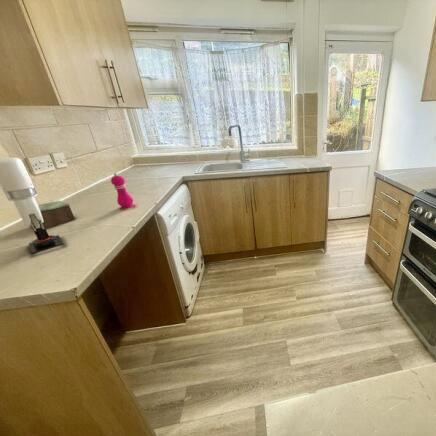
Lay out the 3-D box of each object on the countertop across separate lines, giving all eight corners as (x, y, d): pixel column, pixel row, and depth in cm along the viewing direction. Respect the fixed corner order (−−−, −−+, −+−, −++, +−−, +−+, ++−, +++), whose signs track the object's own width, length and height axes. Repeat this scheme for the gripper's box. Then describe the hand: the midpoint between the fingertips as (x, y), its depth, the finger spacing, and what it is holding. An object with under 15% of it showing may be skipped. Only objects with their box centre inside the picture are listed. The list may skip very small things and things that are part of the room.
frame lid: (29, 214, 106) (23, 202, 104) (20, 210, 112) (15, 198, 110) (69, 205, 118) (65, 194, 116) (60, 201, 123) (56, 190, 121)
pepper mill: (121, 207, 136) (108, 172, 127) (136, 205, 138) (124, 170, 130) (119, 212, 130) (105, 175, 121) (134, 209, 132) (122, 173, 124)
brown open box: (39, 230, 110) (32, 215, 107) (31, 225, 116) (23, 210, 113) (75, 220, 121) (69, 205, 118) (66, 215, 126) (60, 201, 123)
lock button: (52, 242, 95) (50, 238, 94) (39, 246, 92) (37, 242, 92) (51, 239, 97) (49, 235, 96) (38, 243, 94) (36, 239, 94)
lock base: (65, 248, 95) (61, 239, 94) (33, 258, 89) (28, 248, 87) (60, 239, 102) (56, 231, 100) (31, 248, 96) (26, 239, 94)
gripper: (5, 192, 89) (29, 236, 96) (6, 200, 79) (32, 249, 87) (34, 187, 94) (54, 230, 101) (38, 194, 84) (60, 241, 92)
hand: (44, 238), depth 94 cm, fingers closed
